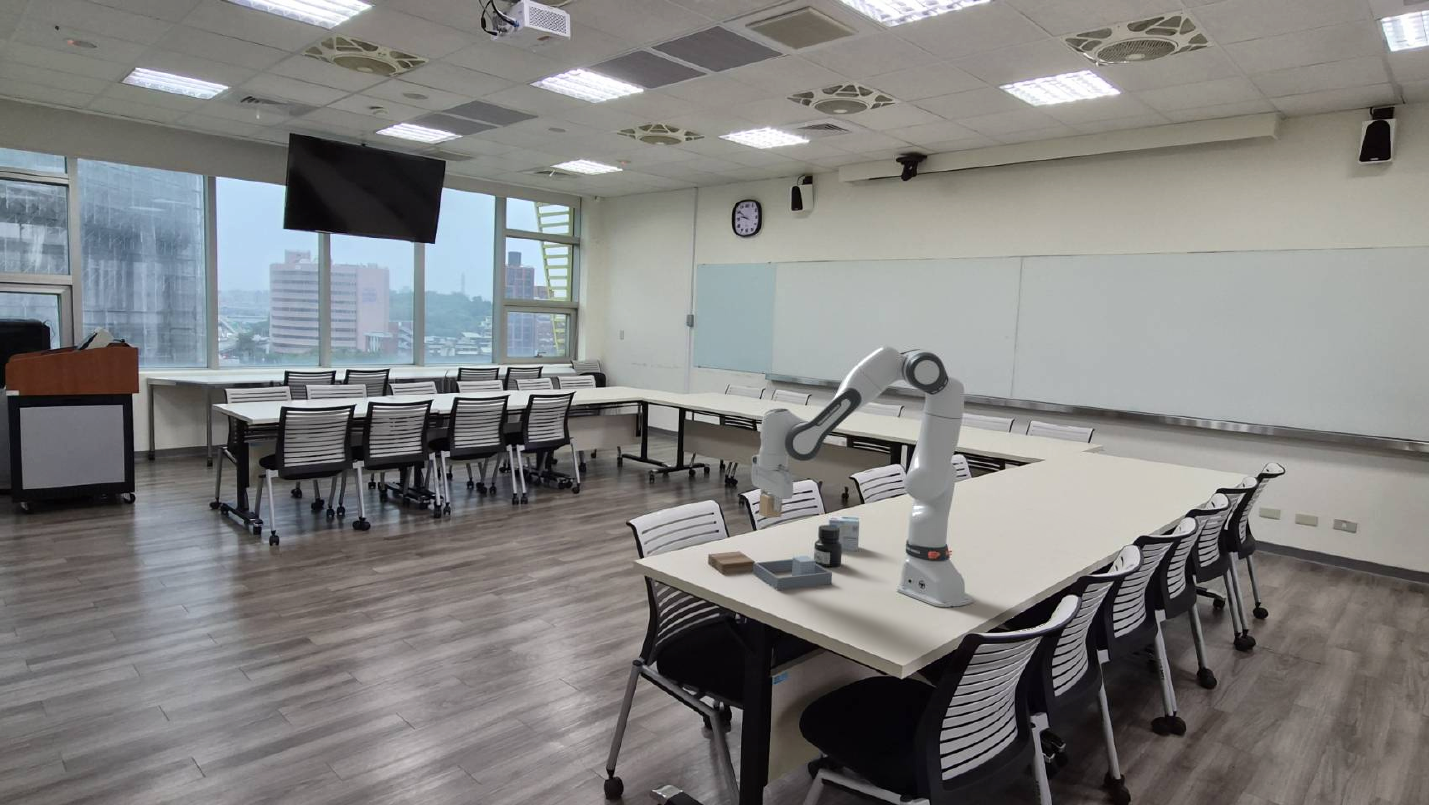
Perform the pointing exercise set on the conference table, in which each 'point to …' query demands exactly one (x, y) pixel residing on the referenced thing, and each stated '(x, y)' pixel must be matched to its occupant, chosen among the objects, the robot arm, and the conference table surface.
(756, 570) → the parts tray
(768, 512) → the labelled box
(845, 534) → the light bulb box
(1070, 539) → the conference table surface
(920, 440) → the robot arm
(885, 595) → the conference table surface
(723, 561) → the walnut stand
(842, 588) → the conference table surface
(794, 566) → the plain box
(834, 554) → the ink bottle
